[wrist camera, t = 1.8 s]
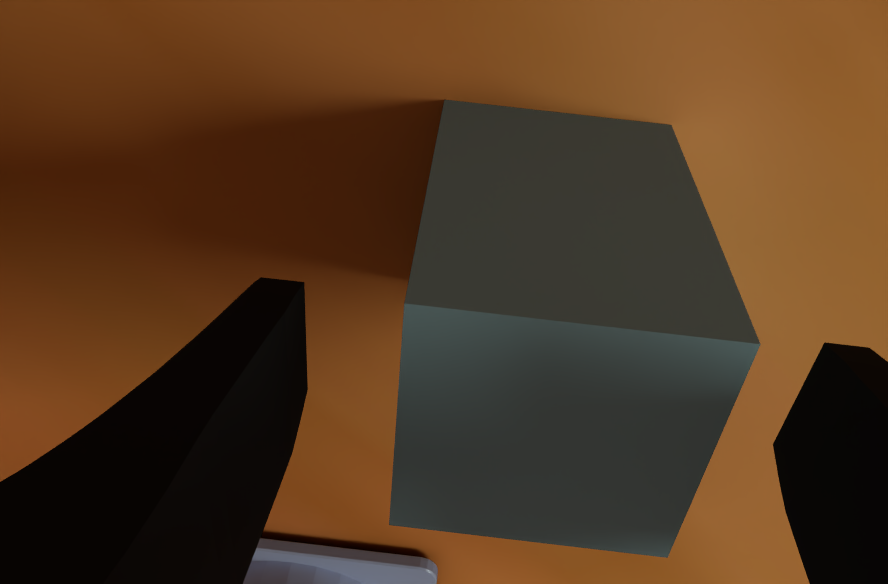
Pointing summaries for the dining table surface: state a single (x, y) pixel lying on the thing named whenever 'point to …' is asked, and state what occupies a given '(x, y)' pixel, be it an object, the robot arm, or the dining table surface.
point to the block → (563, 334)
